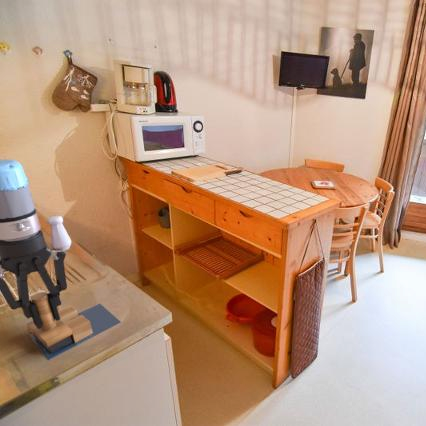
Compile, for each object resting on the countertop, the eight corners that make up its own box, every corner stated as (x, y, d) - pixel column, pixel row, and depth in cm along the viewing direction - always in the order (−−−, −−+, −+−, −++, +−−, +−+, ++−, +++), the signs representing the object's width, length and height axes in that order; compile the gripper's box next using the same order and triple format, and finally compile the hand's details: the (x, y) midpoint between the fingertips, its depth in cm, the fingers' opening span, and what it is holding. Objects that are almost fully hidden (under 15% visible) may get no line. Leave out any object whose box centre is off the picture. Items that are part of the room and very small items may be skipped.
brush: (31, 336, 78) (15, 293, 73) (55, 324, 82) (42, 283, 77) (50, 355, 74) (35, 310, 68) (74, 341, 78) (62, 298, 72)
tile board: (30, 338, 79) (29, 335, 79) (100, 306, 92) (100, 303, 91) (49, 363, 73) (48, 360, 73) (121, 324, 86) (121, 322, 85)
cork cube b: (67, 335, 80) (63, 323, 78) (84, 326, 83) (81, 314, 81) (75, 343, 78) (71, 330, 76) (92, 333, 81) (89, 321, 79)
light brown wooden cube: (55, 325, 82) (51, 313, 81) (72, 316, 86) (69, 304, 84) (62, 331, 81) (58, 319, 79) (80, 322, 84) (76, 310, 82)
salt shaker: (52, 247, 118) (43, 215, 113) (71, 243, 121) (63, 212, 116) (53, 254, 114) (44, 221, 109) (73, 250, 117) (65, 218, 112)
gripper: (-31, 254, 59) (8, 349, 68) (70, 227, 71) (91, 311, 80) (-41, 241, 62) (-3, 333, 71) (57, 218, 75) (79, 298, 84)
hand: (47, 321), depth 76 cm, fingers closed on brush, 3 cm apart
